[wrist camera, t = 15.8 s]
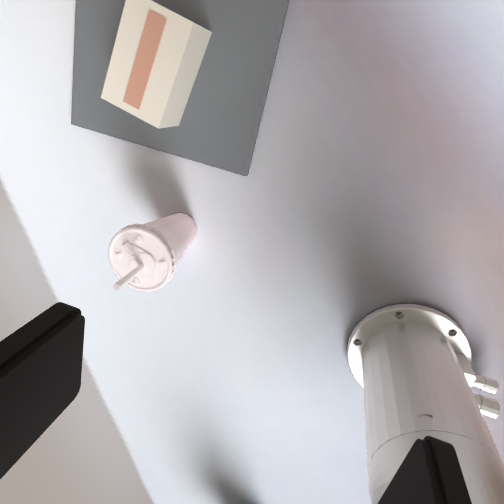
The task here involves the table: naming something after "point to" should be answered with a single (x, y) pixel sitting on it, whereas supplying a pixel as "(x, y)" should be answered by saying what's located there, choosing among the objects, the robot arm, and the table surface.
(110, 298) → the table surface
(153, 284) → the smoothie
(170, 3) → the mat
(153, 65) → the card box
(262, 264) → the table surface
